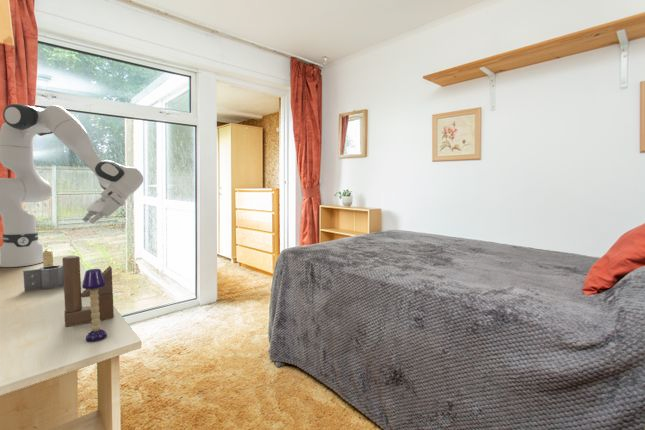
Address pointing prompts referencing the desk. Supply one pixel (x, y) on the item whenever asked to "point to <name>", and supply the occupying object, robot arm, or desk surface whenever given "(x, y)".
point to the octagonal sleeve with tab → (43, 278)
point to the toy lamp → (94, 302)
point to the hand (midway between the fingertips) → (87, 221)
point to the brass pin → (47, 258)
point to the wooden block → (84, 294)
